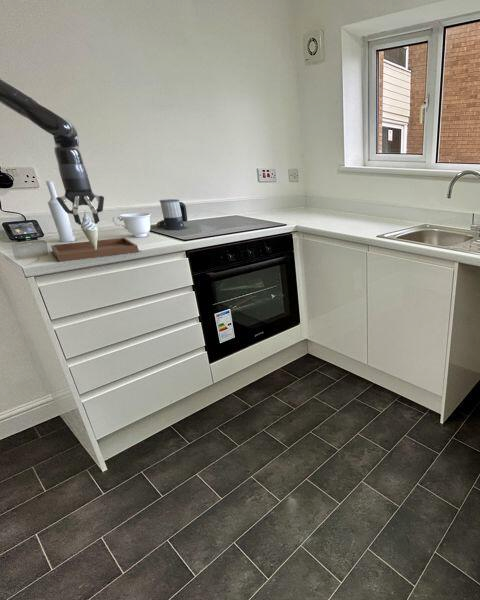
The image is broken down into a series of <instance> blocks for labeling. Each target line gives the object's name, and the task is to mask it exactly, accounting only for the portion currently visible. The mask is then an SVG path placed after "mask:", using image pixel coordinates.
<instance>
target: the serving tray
mask: <svg viewBox="0 0 480 600" xmlns="http://www.w3.org/2000/svg"><path fill="white" fill-rule="evenodd" d="M50 247H51V250H52V252H53V254H54V256H55V257H56V259H57V260H58V262H69V261H77V260H83V259H84V260H85V259H93V258H100V257H101V258H102V257H107V256H108V257H110V256H116V255H124V254H133V253H139V252H140V251H139V248H138V245H137V244H136V243H134V242H132V241H131V240H130V239H128V238H126V237H118V238H110V239H109V238H108V239H99V240H98V239H97V250H95V249H94V248H93V246H92V245H91V243H90V242H89V240H88V241H79V242H70V243H69V242H67V243H60V244H59V243H58V244H50Z"/></svg>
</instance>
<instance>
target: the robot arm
mask: <svg viewBox="0 0 480 600" xmlns="http://www.w3.org/2000/svg"><path fill="white" fill-rule="evenodd" d="M0 104H2V105H3V106H5V107H7V108H8V109H10V110H12V111H13V112H15V113H16V114H18V115H20V116H22V117H23V118H25V119H26V120H29V121H30V122H32V124H35V125H36V126H37V127H39V128H40V129H42V130H43V131H45V132H46V133H47V134H50V135H51V136H53V142H54V149H53V150H54V155H55V158H56V162H57V166H58V171H59V175H60V178H61V179H60V180H61V182H62V186H63V188H64V195H61V196H57V197H56V199H57V201H58V202H59V203H60V205H61V206H62V208H63V209H64V210H65V212H66V213H67V214H70V215H72V216H73V219H74V222H75V223H76V224H78V226H79V225H80V226H81V223H82V221H81V217H80V215H79V213H78V212H79V207H80V206H87V207H88V208H89V209H90V212H92V213H91V214H92V219H93V222H95V223H96V225H97V224H99V223H100V218H99V213H101V212H103V211H104V202H105V196H103V195H97V194H95V193H94V191H93V189H92V187H91V183H90V179H89V174H88V171H87V168H86V166H85V164H84V160H83V157H82V153H81V150H80V143H79V142H80V141H79V135H78V131H77V128H76V126H75V124H74V123H73V122H72V121H71V120H70V119H68V118H66V117H63V116H60V115H59V114H57V113H55V112H54V111H53V110H51V109H49V108H47V107H45V106H44V105H43V104H42V103H41V102H39V101H38V100H37V99H35V98H34V97H32V96H31V95H30V94H27V93H26V92H25V91H23V90H21V89H20V88H18V87H16V86H14V85H13V84H11V83H10V82H8V81H6V80H4V79H2V78H1V77H0ZM94 199H96V201H97V208H96V207H95V206H94V204H93V203H92V202H93V201H94ZM67 200H68V201H69V202H71V204H72V208H71V209H69V207H68V206H67V204H66V202H67Z"/></svg>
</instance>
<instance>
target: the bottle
mask: <svg viewBox="0 0 480 600" xmlns="http://www.w3.org/2000/svg"><path fill="white" fill-rule="evenodd" d="M45 183H46V186H47V189H48V192H49V195H50V199H49V200H48V201H47V205H48V208H49V210H50V213H51V216H52V220H53V222H54V225H55V228H56V231H57V234H58V236H59V237H58V238H59V241H60V242H62V243H69V242H70V243H71V242H75V241H76V236H75V235H74V232H73V231H74V230H73V229H72V225H71V222H70V216H69V215H68V214H69V213H66V212H65V210H64V209H63V208H62V206H61V205H60V203H59V202H58V201H57V199H56V197H58V195H57V191H56V188H55V184H54V181H53V180H46V181H45Z"/></svg>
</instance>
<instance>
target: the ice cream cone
mask: <svg viewBox="0 0 480 600" xmlns="http://www.w3.org/2000/svg"><path fill="white" fill-rule="evenodd" d="M92 219H93V218H92V217H91V216H89V214H88V213H87V212H86V211H84V212H83V217H82V219H81V220H82V221H81V225H80V229H81V231H82V232H83V234H84V236H85V237H86V238H87V240H88V241H89V242H90V243H91V245H92V246H93V248H94V249H95V250H97V241H98V237H99V228H98V225H97V224H96V223H95V222H94V220H92Z"/></svg>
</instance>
